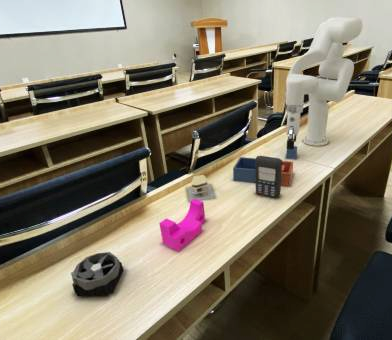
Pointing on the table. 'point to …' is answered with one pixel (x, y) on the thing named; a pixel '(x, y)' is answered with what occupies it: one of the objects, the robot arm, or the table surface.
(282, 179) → the terracotta bin
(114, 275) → the cpu cooler
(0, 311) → the table surface
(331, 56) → the robot arm
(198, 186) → the stacked layers on plate
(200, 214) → the toy block
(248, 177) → the slate bin
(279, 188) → the card reader
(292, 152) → the slate block
